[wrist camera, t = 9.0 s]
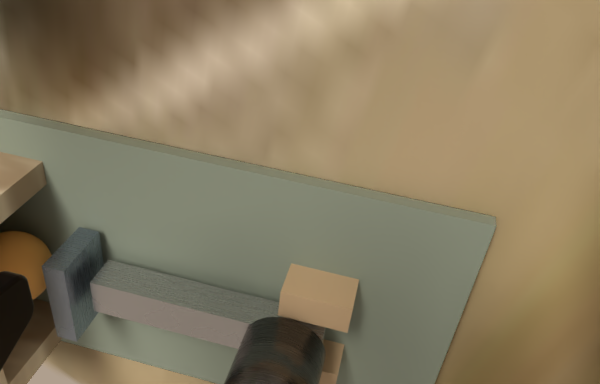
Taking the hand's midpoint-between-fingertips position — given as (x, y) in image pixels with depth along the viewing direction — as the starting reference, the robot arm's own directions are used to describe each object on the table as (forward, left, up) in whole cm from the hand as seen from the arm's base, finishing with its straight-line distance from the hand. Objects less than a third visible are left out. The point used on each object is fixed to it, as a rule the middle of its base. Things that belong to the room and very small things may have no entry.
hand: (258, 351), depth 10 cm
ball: (+14, +11, -10) cm, 20 cm away
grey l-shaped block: (+5, +11, -11) cm, 16 cm away
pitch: (+5, +11, -12) cm, 17 cm away
